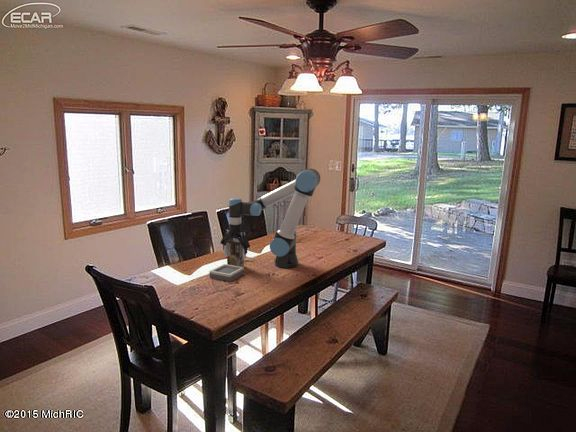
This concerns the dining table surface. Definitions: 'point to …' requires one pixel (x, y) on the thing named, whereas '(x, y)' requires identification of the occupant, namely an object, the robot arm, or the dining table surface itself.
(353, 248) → the dining table surface
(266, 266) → the dining table surface
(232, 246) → the coffee box
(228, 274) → the grey square tray
